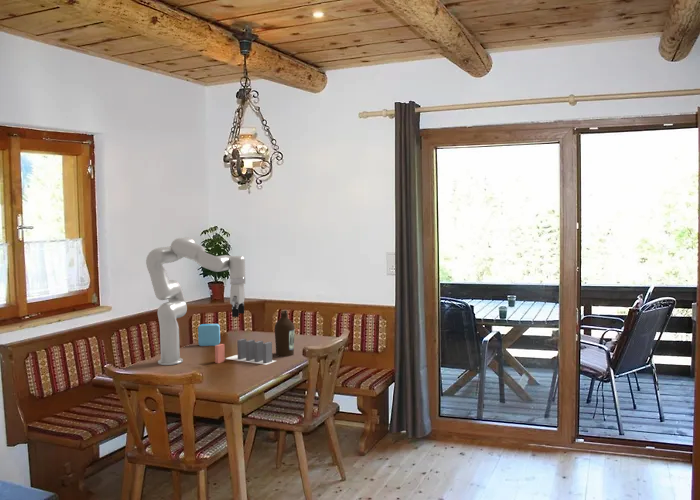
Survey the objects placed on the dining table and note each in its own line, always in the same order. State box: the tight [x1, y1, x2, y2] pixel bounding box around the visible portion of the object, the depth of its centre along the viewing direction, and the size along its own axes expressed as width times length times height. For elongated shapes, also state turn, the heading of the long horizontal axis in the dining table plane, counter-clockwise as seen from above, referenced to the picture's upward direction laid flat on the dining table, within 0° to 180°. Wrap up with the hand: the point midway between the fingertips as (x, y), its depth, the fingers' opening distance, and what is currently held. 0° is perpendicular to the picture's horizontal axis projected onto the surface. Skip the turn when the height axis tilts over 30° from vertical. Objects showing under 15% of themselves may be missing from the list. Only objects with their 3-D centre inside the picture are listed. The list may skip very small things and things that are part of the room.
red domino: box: [214, 343, 226, 364], centre depth 333 cm, size 2×5×10 cm, turn 150°
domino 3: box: [254, 340, 264, 362], centre depth 334 cm, size 2×5×10 cm, turn 150°
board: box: [225, 354, 276, 366], centre depth 337 cm, size 27×9×1 cm, turn 60°
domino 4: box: [263, 341, 273, 363], centre depth 331 cm, size 2×5×10 cm, turn 150°
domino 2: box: [246, 339, 256, 361], centre depth 337 cm, size 2×5×10 cm, turn 150°
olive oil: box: [274, 309, 295, 357], centre depth 347 cm, size 11×11×25 cm
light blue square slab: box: [197, 323, 221, 347], centre depth 377 cm, size 12×4×12 cm, turn 96°
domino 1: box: [237, 338, 248, 360], centre depth 340 cm, size 2×5×10 cm, turn 151°
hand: (238, 315), depth 323 cm, fingers open, 9 cm apart
